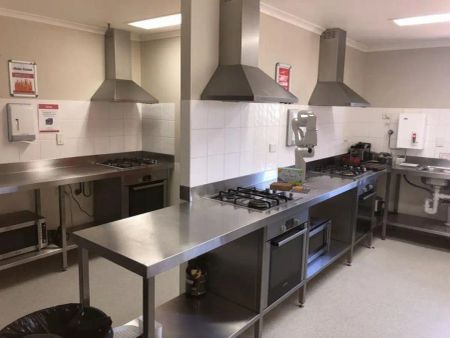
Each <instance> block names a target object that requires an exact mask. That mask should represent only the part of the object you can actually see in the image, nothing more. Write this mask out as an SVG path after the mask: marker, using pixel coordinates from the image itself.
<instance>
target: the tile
mask: <svg viewBox="0 0 450 338" xmlns="http://www.w3.org/2000/svg"><path fill="white" fill-rule="evenodd" d="M304 187H305V186H303V187H302V186H296V187H293V189H294V191H301V192H302V191H303V190H304V189H305V188H304Z"/></svg>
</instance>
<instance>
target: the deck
mask: <svg viewBox="0 0 450 338" xmlns="http://www.w3.org/2000/svg"><path fill="white" fill-rule="evenodd" d="M293 189H294V187H293V184H291V183H280V182H277V181H273V182H272V183H270V184H269V190H270V191H278V192H279V191H281V192H290V191H292V190H293ZM290 193H291V192H290Z"/></svg>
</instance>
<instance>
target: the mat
mask: <svg viewBox="0 0 450 338" xmlns="http://www.w3.org/2000/svg"><path fill="white" fill-rule="evenodd" d="M310 191H311V189H309V188H304V190H303V191H302V192H301V191H294V188H293V189H292V190H291V191H290V193H299V194H309V193H310Z"/></svg>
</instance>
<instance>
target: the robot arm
mask: <svg viewBox="0 0 450 338" xmlns="http://www.w3.org/2000/svg"><path fill="white" fill-rule="evenodd" d="M296 116H297V117H294V118H292V120H291V129H292V131H293V132H292V133H293V134H294V135H293V136H294V142H295V146H296V148H295V147H294V168H295V169H303V184H305V183H308V181H307V180H306V170H307V169H306V168H307V167H306V166H307V165H306V164H307V162H306V160H305V159H307V158H308V159H309V158H311V159H312V158H314V157H315V147H317V146H318V128H317V118H318V117H317V115H316V114H315V112H314V111H313V110H311V109H309V110H307V109H305V110H304V109H303V110H299V111H297V115H296ZM302 128H305V129H306V130H305V132H304V131H303V130H302Z"/></svg>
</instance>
